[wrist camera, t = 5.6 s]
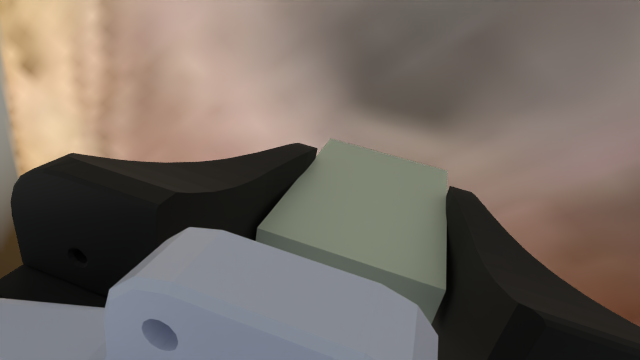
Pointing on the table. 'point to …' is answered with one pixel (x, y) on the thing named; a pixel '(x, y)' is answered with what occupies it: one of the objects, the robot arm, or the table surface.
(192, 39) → the table surface
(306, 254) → the green flat block
